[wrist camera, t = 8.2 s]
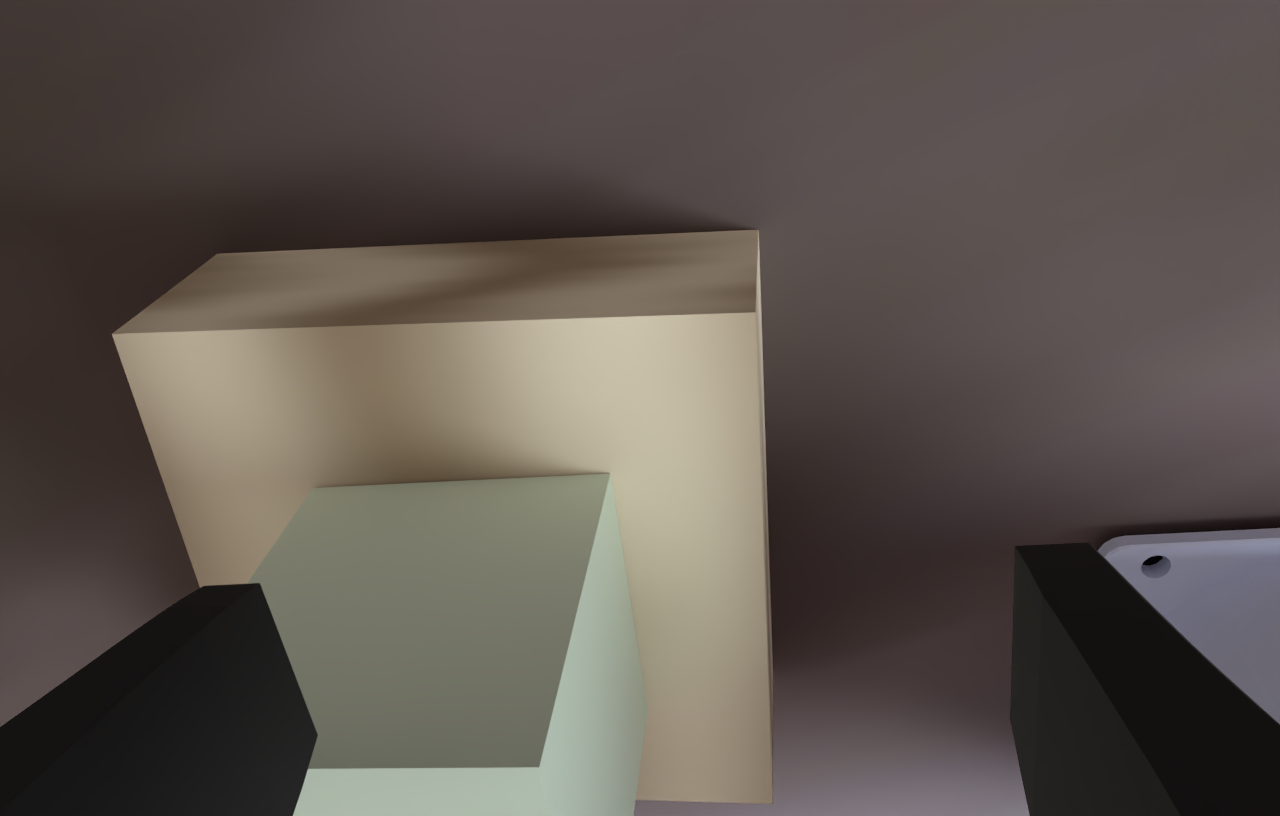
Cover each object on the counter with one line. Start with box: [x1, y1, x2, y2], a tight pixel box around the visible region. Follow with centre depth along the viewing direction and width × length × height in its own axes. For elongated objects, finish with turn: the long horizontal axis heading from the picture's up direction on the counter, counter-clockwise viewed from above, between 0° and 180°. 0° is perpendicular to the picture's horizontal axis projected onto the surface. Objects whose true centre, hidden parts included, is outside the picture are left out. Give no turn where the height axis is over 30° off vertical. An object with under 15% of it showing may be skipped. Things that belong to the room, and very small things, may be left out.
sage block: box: [247, 473, 648, 816], centre depth 16 cm, size 5×5×6 cm
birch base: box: [112, 230, 773, 804], centre depth 20 cm, size 10×10×4 cm
